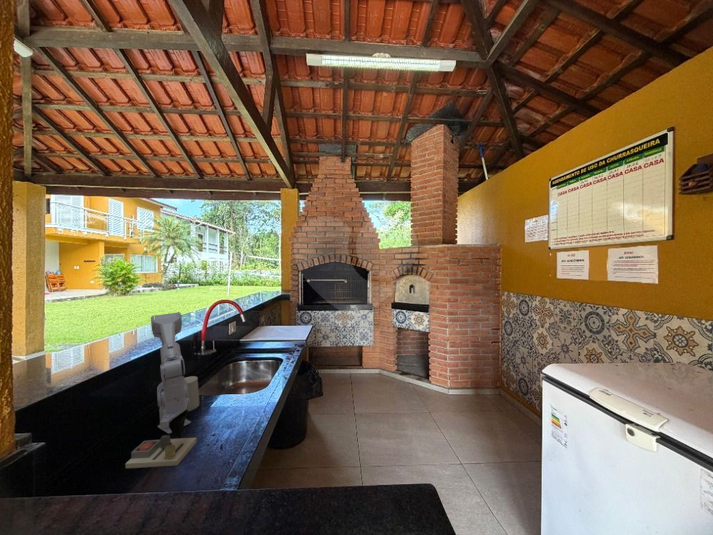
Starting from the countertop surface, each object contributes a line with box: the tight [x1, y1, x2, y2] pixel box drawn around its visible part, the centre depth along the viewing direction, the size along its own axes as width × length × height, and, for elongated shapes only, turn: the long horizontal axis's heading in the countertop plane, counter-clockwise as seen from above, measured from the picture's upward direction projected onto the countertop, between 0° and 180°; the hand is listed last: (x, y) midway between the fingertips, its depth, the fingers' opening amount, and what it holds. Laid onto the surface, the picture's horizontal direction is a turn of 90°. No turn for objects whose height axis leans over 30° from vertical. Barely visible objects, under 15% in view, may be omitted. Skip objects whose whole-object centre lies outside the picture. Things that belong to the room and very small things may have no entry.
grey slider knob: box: [160, 434, 172, 448], centre depth 93 cm, size 3×2×3 cm, turn 91°
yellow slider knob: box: [164, 445, 177, 459], centre depth 88 cm, size 3×2×3 cm, turn 91°
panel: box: [124, 437, 198, 469], centre depth 92 cm, size 16×11×4 cm
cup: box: [184, 375, 200, 412], centre depth 121 cm, size 8×8×12 cm
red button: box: [140, 442, 153, 451], centre depth 91 cm, size 4×4×2 cm
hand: (178, 435), depth 92 cm, fingers closed
